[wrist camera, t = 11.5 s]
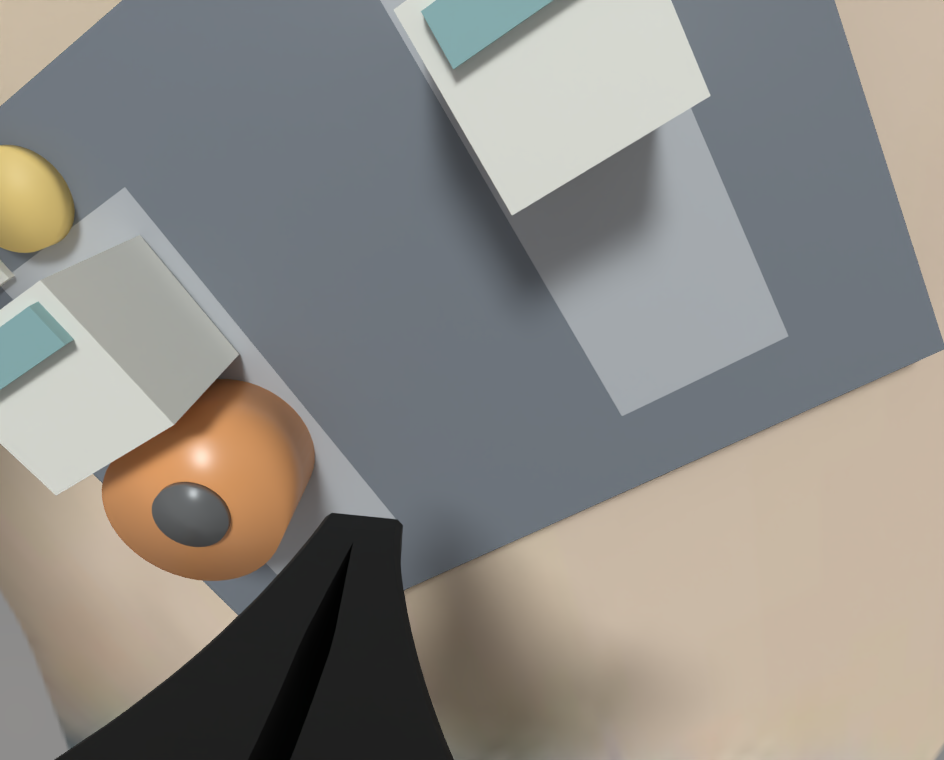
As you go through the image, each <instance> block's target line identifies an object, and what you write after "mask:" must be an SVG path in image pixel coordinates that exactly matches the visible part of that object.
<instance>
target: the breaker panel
mask: <svg viewBox="0 0 944 760" xmlns="http://www.w3.org/2000/svg"><path fill="white" fill-rule="evenodd" d="M404 1H406V0H122V1H121V2H120V3H119V4H118V5H116V6H115V7H114V8H113V9H112V10H111V11H110V12H108V13H107V14H106V15H105V16H104V17H103V18H101V19H100V20H99V21H98V22H97V23H96V24H95V25H93V26H92V27H91V28H90V29H89V30H88V31H87V32H85V33H84V34H83V35H82V36H81V37H80V38H78V39H77V40H76V41H75V42H74V43H73V44H72V45H70V46H69V47H68V48H67V49H66V50H65V51H64V52H62V53H61V54H60V55H59V56H58V57H57V58H55V59H54V60H53V61H52V62H51V63H50V64H49V65H47V66H46V67H45V68H44V69H43V70H42V71H41V72H39V73H38V74H37V75H36V76H35V77H34V78H32V79H31V80H30V81H29V82H28V83H27V84H26V85H24V86H23V87H22V88H21V89H20V90H19V91H18V92H16V93H15V94H14V95H13V96H12V97H11V98H9V99H8V100H7V101H6V102H5V103H4V104H3V105H1V106H0V309H2V308H3V307H4V306H6V305H7V304H9V303H10V302H11V301H13V300H14V299H15V298H17V297H18V296H19V295H21V294H22V293H23V292H25V291H26V290H27V289H29V288H30V287H32V286H33V285H34V284H36V283H37V282H38V281H40V280H42V279H44V278H46V277H48V276H50V275H53V274H55V273H57V272H59V271H61V270H64V269H66V268H68V267H70V266H72V265H75V264H77V263H79V262H81V261H83V260H86V259H88V258H90V257H92V256H94V255H97V254H99V253H101V252H103V251H105V250H108V249H110V248H112V247H114V246H116V245H119V244H121V243H123V242H125V241H128V240H130V239H132V238H134V237H136V236H139V235H140V236H141V237H142V238H143V239H144V241H145V242H146V243H147V244H148V245H149V247H150V248H151V249H152V250H153V251H154V253H155V254H156V255H157V256H158V257H159V259H160V260H161V261H162V262H163V263H164V265H165V266H166V267H167V268H168V269H169V271H170V272H171V273H172V274H173V275H174V277H175V278H176V279H177V280H178V281H179V283H180V284H181V285H182V286H183V287H184V289H185V290H186V291H187V292H188V293H189V295H190V296H191V297H192V298H193V299H194V301H195V302H196V303H197V304H198V305H199V307H200V308H201V309H202V310H203V311H204V313H205V314H206V315H207V316H208V317H209V319H210V320H211V321H212V322H213V323H214V325H215V326H216V327H217V328H218V329H219V331H220V332H221V333H222V334H223V336H224V337H225V338H226V339H227V340H228V342H229V343H230V344H231V345H232V346H233V348H234V349H235V350H236V351H237V352H238V354H239V355H238V356H237V357H236V358H235V359H234V360H233V362H232V363H231V364H230V365H229V366H228V367H227V368H226V369H225V370H224V371H223V372H222V373H221V375H220V376H219V377H218V378H217V379H232V380H240V381H244V382H249V383H252V384H255V385H258V386H260V387H262V388H264V389H267V390H269V391H270V392H272V393H274V394H275V395H277V396H279V397H280V398H281V399H283V400H284V401H285V402H287V403H288V404H289V405H290V406H291V407H292V408H293V409H294V410H295V411H296V412H297V414H298V415H299V416H300V417H301V419H302V420H303V422H304V423H305V425H306V426H307V428H308V431H309V433H310V435H311V438H312V441H313V445H314V451H315V463H314V469H313V472H312V475H311V478H310V480H309V482H308V484H307V486H306V488H305V491H304V493H303V495H302V497H301V499H300V501H299V503H298V506H297V508H296V510H295V512H294V514H293V516H292V518H291V521H290V523H289V525H288V527H287V529H286V531H285V534H284V536H283V538H282V540H281V542H280V544H279V546H278V548H277V550H276V552H275V553H274V555H273V556H272V557H271V559H270V560H269V561H268V562H266V563H265V564H264V565H263V566H262V567H260V568H259V569H257V570H256V571H254V572H252V573H250V574H248V575H245V576H242V577H239V578H235V579H230V580H221V581H204V580H203V581H204V582H205V583H206V584H207V585H208V586H209V587H210V588H211V589H212V590H213V591H214V592H215V593H216V594H217V595H218V596H219V597H220V598H221V599H222V600H223V601H224V602H225V603H226V604H227V605H228V606H229V607H230V608H231V609H232V610H233V611H234V612H235V613H236V614H237V615H239V614H241V613H242V612H243V611H244V610H245V609H246V608H247V607H248V606H249V605H250V604H251V603H252V602H253V601H254V600H255V599H256V598H257V597H258V596H259V595H260V594H261V592H262V591H263V590H264V589H265V588H266V587H267V586H268V585H269V584H270V583H271V582H272V580H273V579H274V578H275V577H276V576H277V575H278V574H279V573H280V572H281V571H282V570H283V568H284V567H285V566H286V565H287V564H288V563H289V562H290V561H291V559H292V558H293V557H294V556H295V555H296V553H297V552H298V551H299V550H300V549H301V548H302V546H303V545H304V544H305V543H306V542H307V540H308V539H309V538H310V537H311V535H312V534H313V533H314V531H315V530H316V529H317V528H318V526H319V525H320V524H321V522H322V521H323V520H324V518H325V517H326V516H328V515H329V514H330V513H340V514H350V515H360V516H370V517H380V518H390V519H398V520H399V521H400V522H401V524H402V525H403V533H402V550H401V574H402V582H403V589H404V590H405V589H407V588H410V587H412V586H414V585H416V584H419V583H421V582H423V581H425V580H428V579H430V578H432V577H434V576H437V575H439V574H441V573H443V572H446V571H448V570H450V569H452V568H455V567H457V566H459V565H461V564H463V563H466V562H468V561H470V560H472V559H475V558H477V557H479V556H481V555H484V554H486V553H488V552H490V551H493V550H495V549H497V548H499V547H502V546H504V545H506V544H508V543H511V542H513V541H515V540H517V539H520V538H522V537H524V536H526V535H529V534H531V533H533V532H535V531H537V530H540V529H542V528H544V527H546V526H549V525H551V524H553V523H555V522H558V521H560V520H562V519H564V518H567V517H569V516H571V515H573V514H576V513H578V512H580V511H582V510H585V509H587V508H589V507H591V506H594V505H596V504H598V503H600V502H603V501H605V500H607V499H609V498H612V497H614V496H616V495H618V494H620V493H623V492H625V491H627V490H629V489H632V488H634V487H636V486H638V485H641V484H643V483H645V482H647V481H650V480H652V479H654V478H656V477H659V476H661V475H663V474H665V473H668V472H670V471H672V470H674V469H677V468H679V467H681V466H683V465H686V464H688V463H690V462H692V461H695V460H697V459H699V458H701V457H703V456H706V455H708V454H710V453H712V452H715V451H717V450H719V449H721V448H724V447H726V446H728V445H730V444H733V443H735V442H737V441H739V440H742V439H744V438H746V437H748V436H751V435H753V434H755V433H757V432H760V431H762V430H764V429H766V428H769V427H771V426H773V425H775V424H777V423H780V422H782V421H784V420H786V419H789V418H791V417H793V416H795V415H798V414H800V413H802V412H804V411H807V410H809V409H811V408H813V407H816V406H818V405H820V404H822V403H825V402H827V401H829V400H831V399H834V398H836V397H838V396H840V395H843V394H845V393H847V392H849V391H852V390H854V389H856V388H858V387H860V386H863V385H865V384H867V383H869V382H872V381H874V380H876V379H878V378H881V377H883V376H885V375H887V374H890V373H892V372H894V371H896V370H899V369H901V368H903V367H905V366H908V365H910V364H912V363H914V362H917V361H919V360H921V359H923V358H926V357H928V356H930V355H932V354H935V353H937V352H939V351H941V350H943V349H944V343H943V339H942V336H941V333H940V330H939V327H938V324H937V321H936V318H935V314H934V311H933V308H932V305H931V302H930V299H929V296H928V292H927V289H926V286H925V283H924V280H923V277H922V274H921V270H920V267H919V264H918V261H917V258H916V255H915V252H914V249H913V245H912V242H911V239H910V236H909V233H908V230H907V227H906V223H905V220H904V217H903V214H902V211H901V208H900V205H899V201H898V198H897V195H896V192H895V189H894V186H893V183H892V179H891V176H890V173H889V170H888V167H887V164H886V161H885V158H884V154H883V151H882V148H881V145H880V142H879V139H878V136H877V132H876V129H875V126H874V123H873V120H872V117H871V114H870V110H869V107H868V104H867V101H866V98H865V95H864V92H863V89H862V85H861V82H860V79H859V76H858V73H857V70H856V67H855V63H854V60H853V57H852V54H851V51H850V48H849V45H848V41H847V38H846V35H845V32H844V29H843V26H842V23H841V20H840V16H839V13H838V10H837V7H836V4H835V1H834V0H671V1H672V3H673V6H674V8H675V11H676V13H677V16H678V18H679V20H680V23H681V25H682V28H683V30H684V32H685V35H686V37H687V40H688V42H689V45H690V47H691V49H692V52H693V54H694V57H695V59H696V62H697V64H698V66H699V69H700V71H701V74H702V76H703V78H704V81H705V83H706V86H707V88H708V91H709V93H710V95H711V96H710V97H708V98H706V99H705V100H703V101H701V102H700V103H698V104H696V105H695V106H693V107H691V108H690V109H688V110H686V111H685V112H683V113H681V114H680V115H678V116H676V117H675V118H673V119H671V120H670V121H668V122H666V123H665V124H663V125H661V126H660V127H658V128H656V129H655V130H653V131H652V132H650V133H648V134H647V135H645V136H643V137H642V138H640V139H638V140H637V141H635V142H633V143H632V144H630V145H628V146H627V147H625V148H623V149H622V150H620V151H618V152H617V153H615V154H613V155H612V156H610V157H608V158H607V159H605V160H603V161H602V162H600V163H598V164H597V165H595V166H593V167H592V168H590V169H588V170H587V171H585V172H584V173H582V174H580V175H579V176H577V177H575V178H574V179H572V180H570V181H569V182H567V183H565V184H564V185H562V186H560V187H559V188H557V189H555V190H554V191H552V192H550V193H549V194H547V195H545V196H544V197H542V198H540V199H539V200H537V201H535V202H534V203H532V204H530V205H529V206H527V207H525V208H524V209H522V210H520V211H519V212H517V213H515V214H514V215H511V213H510V211H509V210H508V208H507V206H506V204H505V203H504V201H503V199H502V197H501V196H500V194H499V192H498V191H497V189H496V187H495V185H494V184H493V182H492V180H491V178H490V177H489V175H488V173H487V171H486V170H485V168H484V166H483V165H482V163H481V161H480V159H479V158H478V156H477V154H476V152H475V151H474V149H473V147H472V145H471V144H470V142H469V140H468V139H467V137H466V135H465V133H464V132H463V130H462V128H461V126H460V125H459V123H458V121H457V119H456V118H455V116H454V114H453V112H452V111H451V109H450V107H449V106H448V104H447V102H446V100H445V99H444V97H443V95H442V93H441V92H440V90H439V88H438V86H437V85H436V83H435V81H434V80H433V78H432V76H431V74H430V73H429V71H428V69H427V67H426V66H425V64H424V62H423V60H422V59H421V57H420V55H419V54H418V52H417V50H416V48H415V47H414V45H413V43H412V41H411V40H410V38H409V36H408V34H407V33H406V31H405V29H404V27H403V26H402V24H401V22H400V21H399V19H398V17H397V15H396V14H395V12H394V9H395V8H396V7H398V6H399V5H400V4H402V3H403V2H404ZM109 465H110V464H108V465H106V466H105V467H103V468H101V469H100V470H98V471H96V472H95V473H93V474H94V475H95V476H96V477H97V478H98V479H99V480H100V481H101V482H102V483H103V479H104V476H105V473H106V470H107V468H108V467H109Z"/></svg>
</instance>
